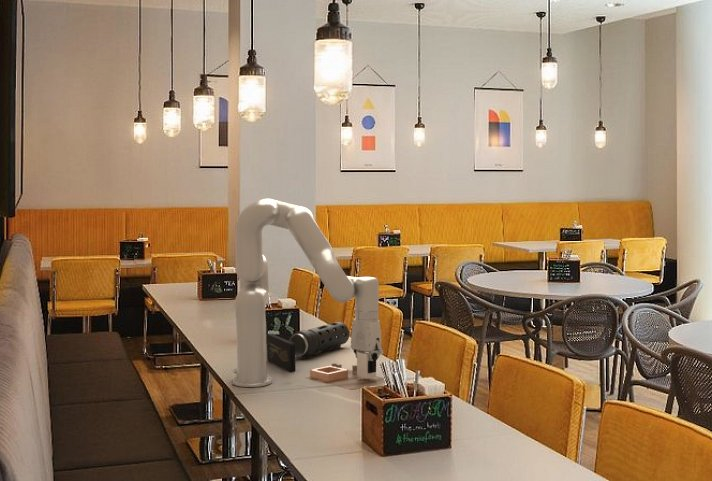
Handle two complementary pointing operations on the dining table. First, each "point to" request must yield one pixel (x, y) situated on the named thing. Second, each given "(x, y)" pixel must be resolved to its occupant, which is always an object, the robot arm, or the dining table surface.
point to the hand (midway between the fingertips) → (366, 370)
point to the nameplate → (281, 352)
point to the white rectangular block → (363, 365)
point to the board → (352, 379)
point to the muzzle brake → (320, 339)
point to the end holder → (329, 373)
